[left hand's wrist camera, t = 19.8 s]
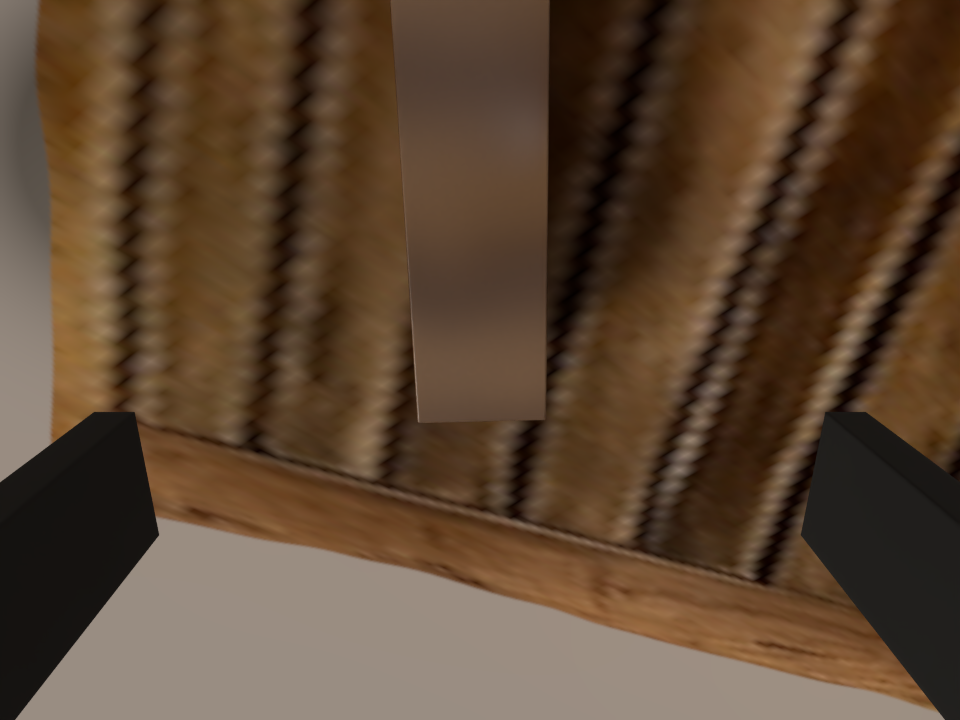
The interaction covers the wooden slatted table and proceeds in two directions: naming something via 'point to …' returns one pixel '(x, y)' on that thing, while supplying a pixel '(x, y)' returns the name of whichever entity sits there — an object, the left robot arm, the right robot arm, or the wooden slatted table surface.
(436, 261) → the bar
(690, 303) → the wooden slatted table surface
